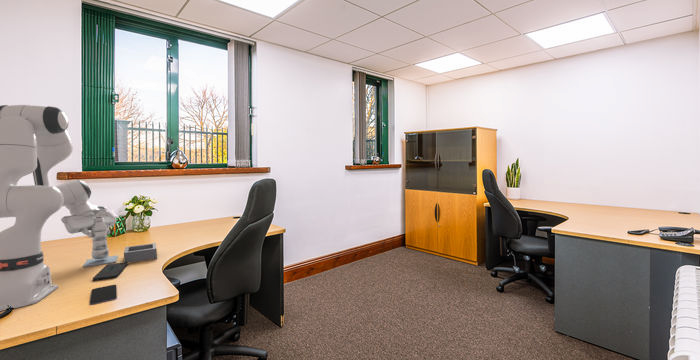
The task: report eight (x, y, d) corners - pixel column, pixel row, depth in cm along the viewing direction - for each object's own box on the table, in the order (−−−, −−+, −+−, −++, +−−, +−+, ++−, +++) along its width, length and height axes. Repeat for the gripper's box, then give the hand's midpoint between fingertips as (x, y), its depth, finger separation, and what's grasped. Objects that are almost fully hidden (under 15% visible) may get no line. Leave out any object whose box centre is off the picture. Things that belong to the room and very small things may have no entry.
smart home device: (128, 261, 144) (116, 274, 126) (128, 264, 144) (117, 279, 126) (106, 263, 141) (91, 278, 123) (106, 267, 141) (91, 282, 123)
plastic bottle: (99, 261, 145) (97, 219, 144) (88, 260, 146) (85, 218, 145) (112, 257, 151) (110, 216, 150) (101, 256, 152) (99, 216, 151)
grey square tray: (157, 258, 152) (156, 248, 152) (124, 263, 145) (123, 252, 145) (156, 252, 163) (156, 243, 163) (126, 256, 156) (125, 247, 156)
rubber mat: (115, 262, 147) (115, 261, 147) (82, 267, 140) (82, 266, 140) (118, 256, 157) (118, 255, 157) (87, 260, 150) (87, 259, 150)
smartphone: (89, 304, 101) (91, 289, 113) (89, 308, 101) (91, 292, 113) (117, 298, 106) (116, 283, 117) (117, 301, 106) (116, 286, 118)
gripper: (62, 212, 139) (78, 235, 137) (109, 206, 159) (124, 226, 157) (56, 221, 141) (72, 244, 139) (103, 214, 161) (118, 234, 158)
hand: (100, 234), depth 148 cm, fingers closed on plastic bottle, 6 cm apart
